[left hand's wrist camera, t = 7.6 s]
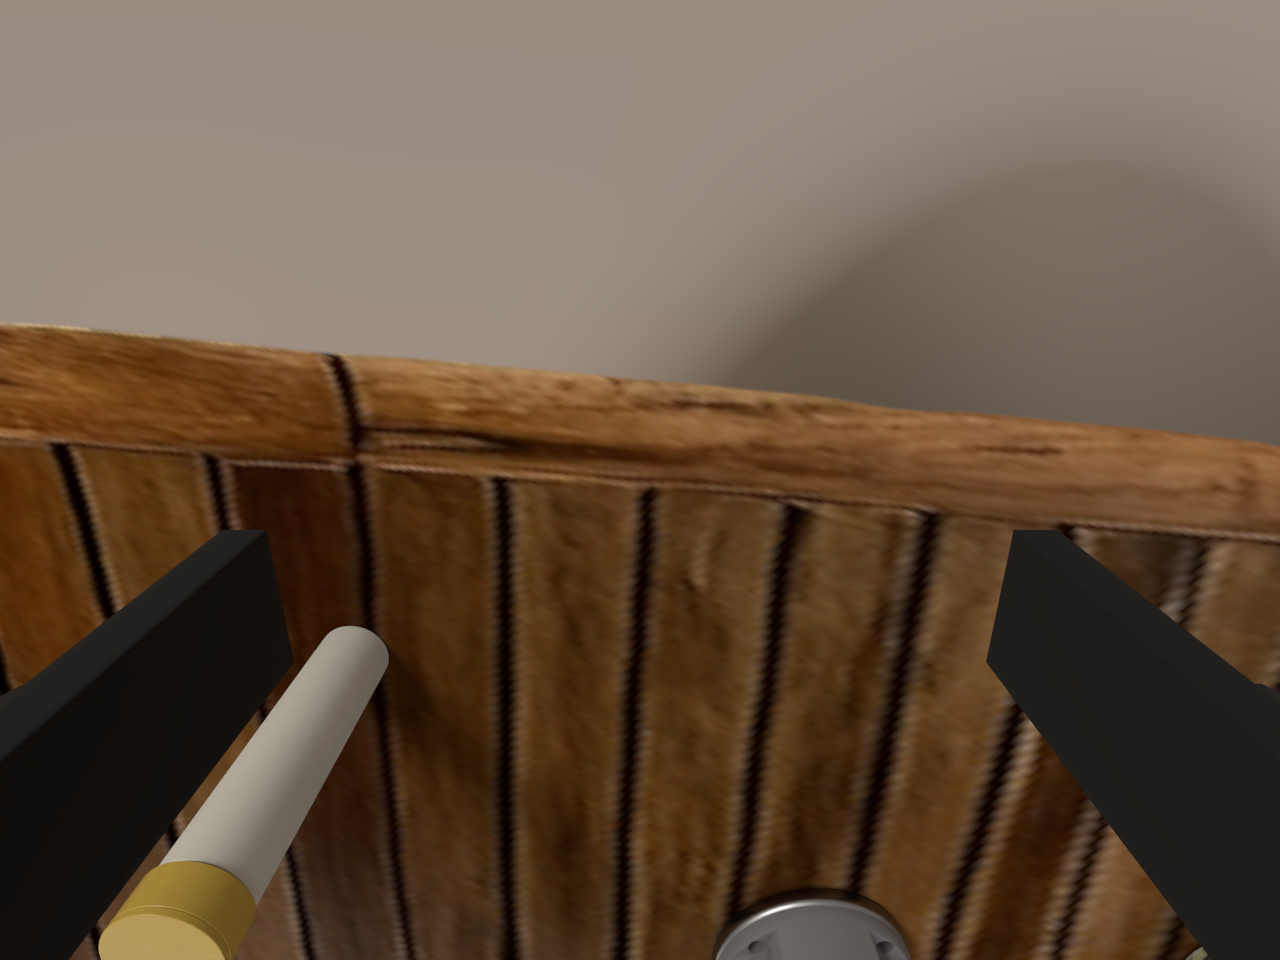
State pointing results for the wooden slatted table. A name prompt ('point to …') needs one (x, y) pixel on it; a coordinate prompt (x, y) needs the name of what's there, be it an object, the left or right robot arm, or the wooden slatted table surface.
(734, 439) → the wooden slatted table surface
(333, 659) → the white bottle
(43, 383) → the wooden slatted table surface
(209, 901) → the lid
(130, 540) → the wooden slatted table surface
